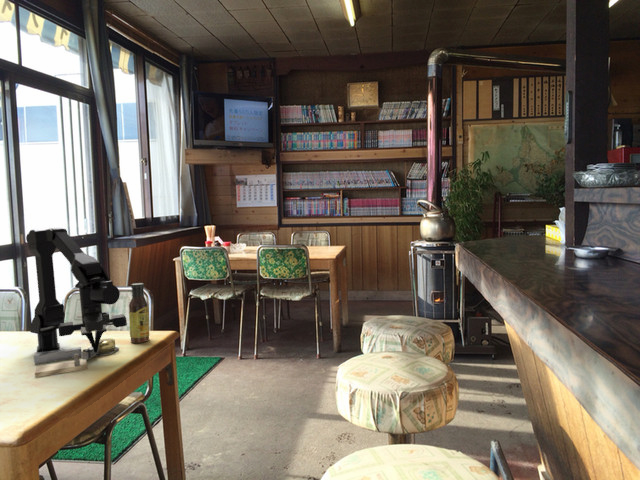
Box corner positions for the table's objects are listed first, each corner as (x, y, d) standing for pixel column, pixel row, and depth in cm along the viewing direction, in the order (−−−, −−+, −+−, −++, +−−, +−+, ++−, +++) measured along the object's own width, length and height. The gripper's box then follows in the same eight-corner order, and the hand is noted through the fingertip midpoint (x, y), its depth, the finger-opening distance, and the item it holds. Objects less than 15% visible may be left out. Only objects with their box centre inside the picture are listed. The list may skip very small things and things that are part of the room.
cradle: (35, 377, 137) (34, 366, 137) (36, 370, 143) (35, 359, 143) (87, 368, 143) (86, 358, 143) (86, 362, 149) (85, 352, 149)
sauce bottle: (143, 344, 167) (139, 285, 165) (126, 343, 168) (123, 285, 167) (153, 338, 173) (150, 282, 172) (137, 338, 175) (134, 282, 173)
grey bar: (34, 364, 149) (34, 356, 148) (35, 361, 152) (34, 353, 152) (81, 357, 155) (81, 349, 154) (81, 354, 158) (80, 346, 158)
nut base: (87, 350, 162) (87, 349, 162) (117, 345, 166) (117, 345, 166) (89, 357, 154) (89, 356, 154) (120, 352, 158) (120, 351, 158)
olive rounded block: (99, 346, 164) (99, 337, 164) (119, 346, 163) (119, 337, 163) (74, 359, 151) (73, 349, 150) (95, 359, 150) (95, 349, 149)
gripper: (56, 311, 140) (61, 365, 141) (126, 302, 148) (131, 353, 150) (56, 305, 149) (61, 355, 151) (122, 296, 158) (126, 344, 159)
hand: (95, 352), depth 152 cm, fingers closed
